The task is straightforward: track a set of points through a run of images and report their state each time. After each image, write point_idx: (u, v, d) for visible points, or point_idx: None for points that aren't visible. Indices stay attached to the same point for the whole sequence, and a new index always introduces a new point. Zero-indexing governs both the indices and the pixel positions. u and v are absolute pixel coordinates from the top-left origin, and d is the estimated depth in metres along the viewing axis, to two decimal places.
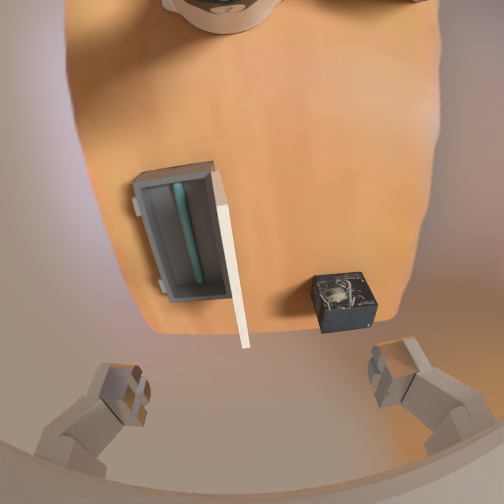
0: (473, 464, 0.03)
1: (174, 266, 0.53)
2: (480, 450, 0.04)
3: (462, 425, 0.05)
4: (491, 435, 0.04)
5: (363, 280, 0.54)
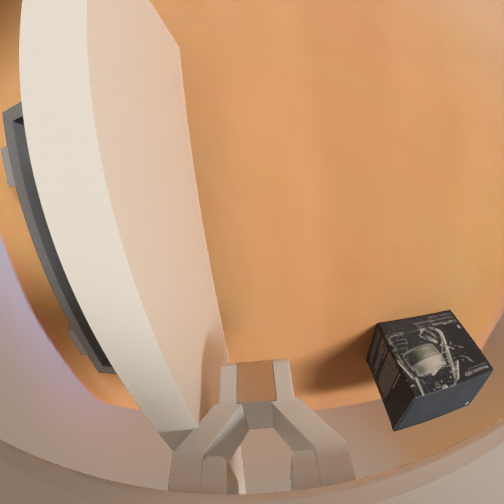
0: (473, 464, 0.03)
1: None
2: (480, 450, 0.04)
3: (303, 473, 0.05)
4: (491, 435, 0.04)
5: (460, 326, 0.25)
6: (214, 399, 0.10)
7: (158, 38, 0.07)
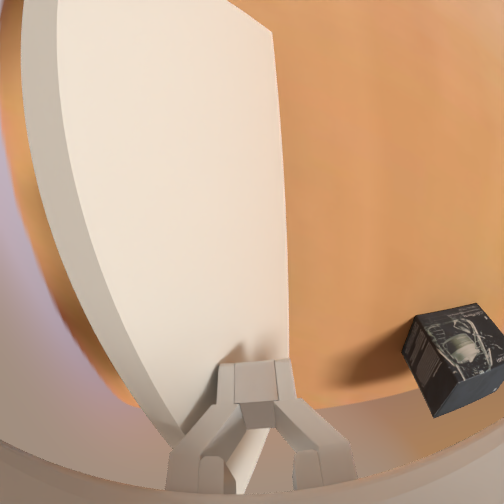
0: (473, 464, 0.03)
1: None
2: (480, 450, 0.04)
3: (306, 472, 0.05)
4: (491, 435, 0.04)
5: (487, 317, 0.25)
6: None
7: (219, 21, 0.06)
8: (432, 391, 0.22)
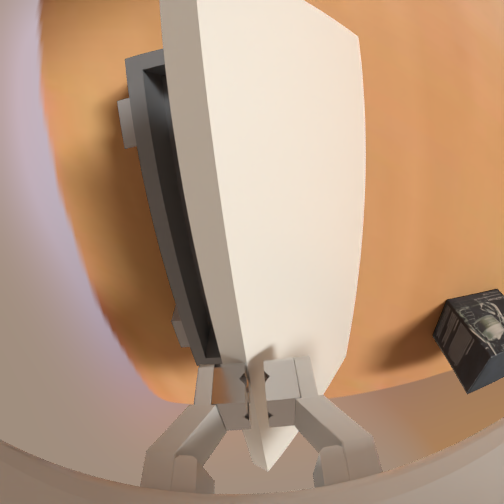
0: (473, 464, 0.03)
1: None
2: (480, 450, 0.04)
3: (332, 468, 0.05)
4: (491, 435, 0.04)
5: None
6: (291, 353, 0.12)
7: (313, 28, 0.08)
8: (465, 368, 0.23)
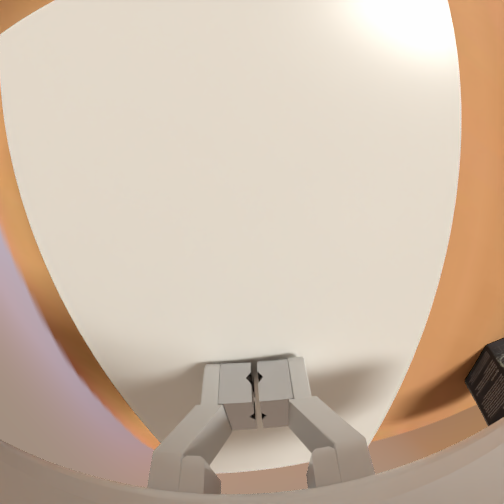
0: (473, 464, 0.03)
1: None
2: (480, 450, 0.04)
3: (324, 469, 0.05)
4: (491, 435, 0.04)
5: None
6: (188, 400, 0.10)
7: None
8: None
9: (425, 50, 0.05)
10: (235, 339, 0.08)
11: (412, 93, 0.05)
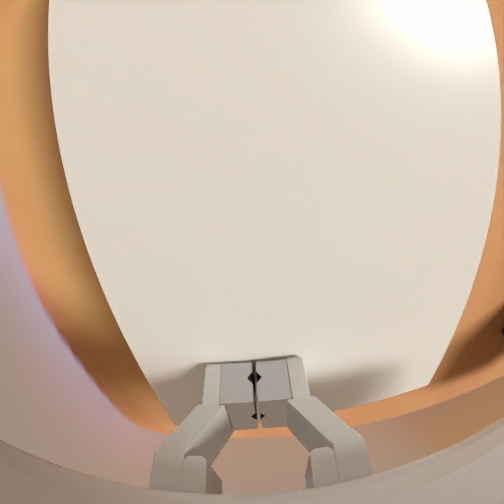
0: (473, 464, 0.03)
1: None
2: (480, 450, 0.04)
3: (322, 470, 0.05)
4: (491, 435, 0.04)
5: None
6: (175, 190, 0.06)
7: None
8: None
9: None
10: (266, 34, 0.05)
11: None
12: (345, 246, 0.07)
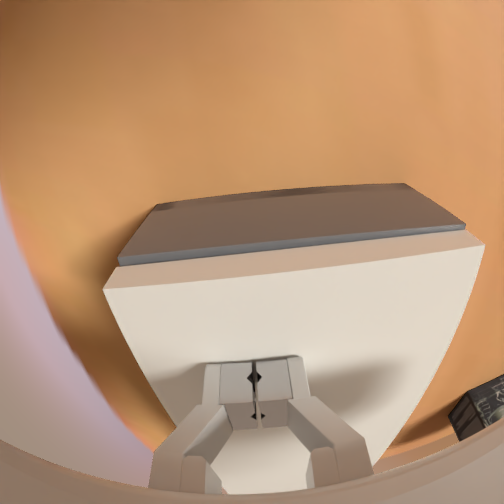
0: (473, 464, 0.03)
1: None
2: (480, 450, 0.04)
3: (323, 469, 0.05)
4: (491, 435, 0.04)
5: None
6: (249, 464, 0.14)
7: (311, 301, 0.08)
8: None
9: (443, 311, 0.08)
10: (288, 441, 0.12)
11: (422, 339, 0.09)
12: None
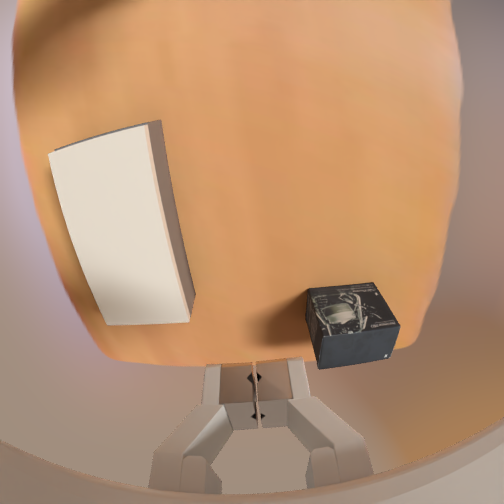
0: (473, 464, 0.03)
1: None
2: (480, 450, 0.04)
3: (323, 469, 0.05)
4: (491, 435, 0.04)
5: (378, 293, 0.38)
6: (97, 260, 0.30)
7: (90, 149, 0.24)
8: (316, 346, 0.36)
9: (136, 152, 0.25)
10: (105, 233, 0.29)
11: (133, 165, 0.26)
12: (129, 271, 0.31)
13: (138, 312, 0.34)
